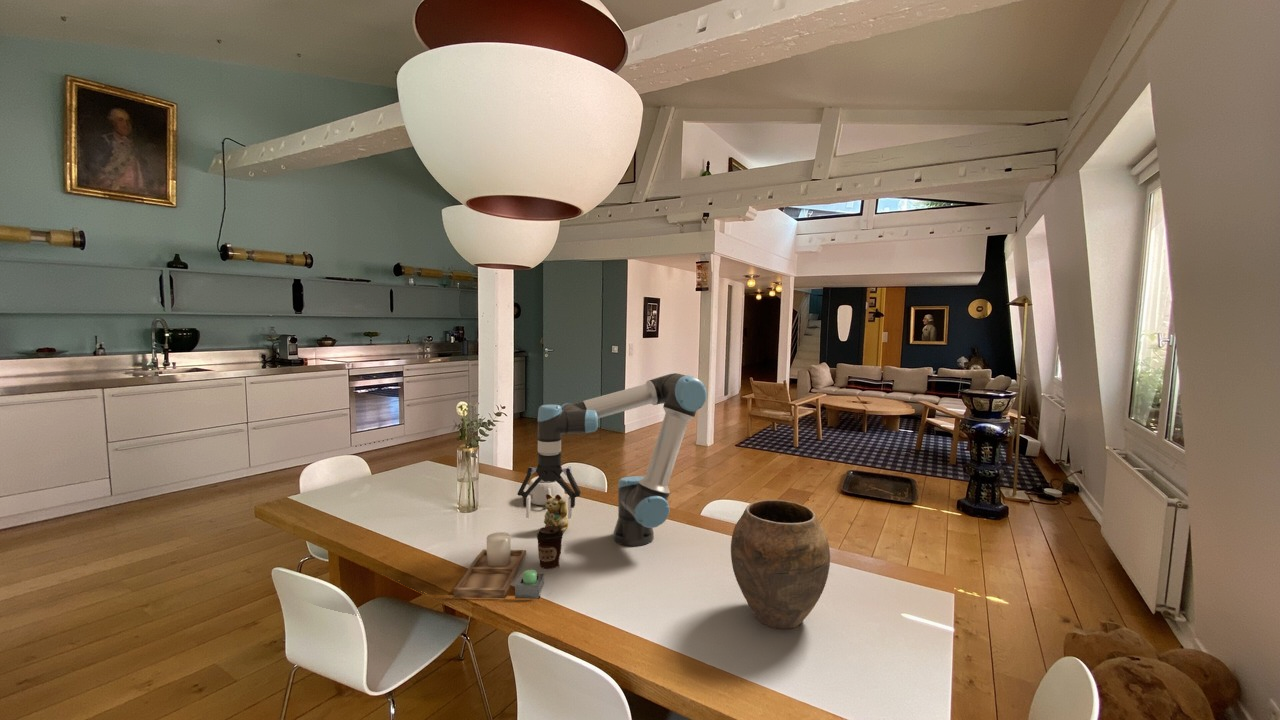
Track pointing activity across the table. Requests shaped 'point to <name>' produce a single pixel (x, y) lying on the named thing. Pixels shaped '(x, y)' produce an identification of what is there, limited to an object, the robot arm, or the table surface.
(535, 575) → the button
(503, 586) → the wooden tray
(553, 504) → the decorative figurine
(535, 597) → the button housing
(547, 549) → the coffee cup
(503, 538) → the seated billet
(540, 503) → the mug
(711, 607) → the table surface
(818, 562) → the vase
